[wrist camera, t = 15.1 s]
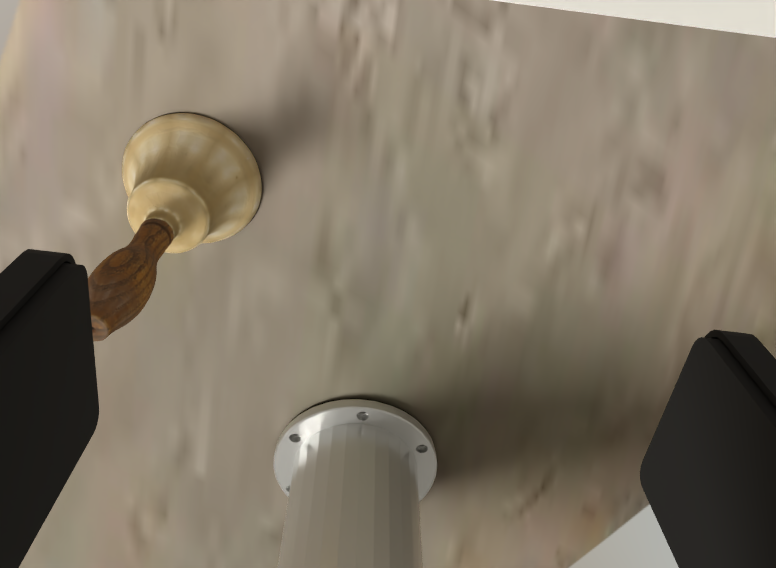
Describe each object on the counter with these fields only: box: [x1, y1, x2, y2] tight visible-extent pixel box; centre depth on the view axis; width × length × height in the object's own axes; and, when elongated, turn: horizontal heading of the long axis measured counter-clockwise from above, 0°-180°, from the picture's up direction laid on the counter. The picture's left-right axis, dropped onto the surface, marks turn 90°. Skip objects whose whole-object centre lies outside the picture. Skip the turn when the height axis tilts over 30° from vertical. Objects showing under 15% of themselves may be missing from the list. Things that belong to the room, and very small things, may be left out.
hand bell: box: [88, 113, 262, 341], centre depth 33 cm, size 8×8×16 cm
